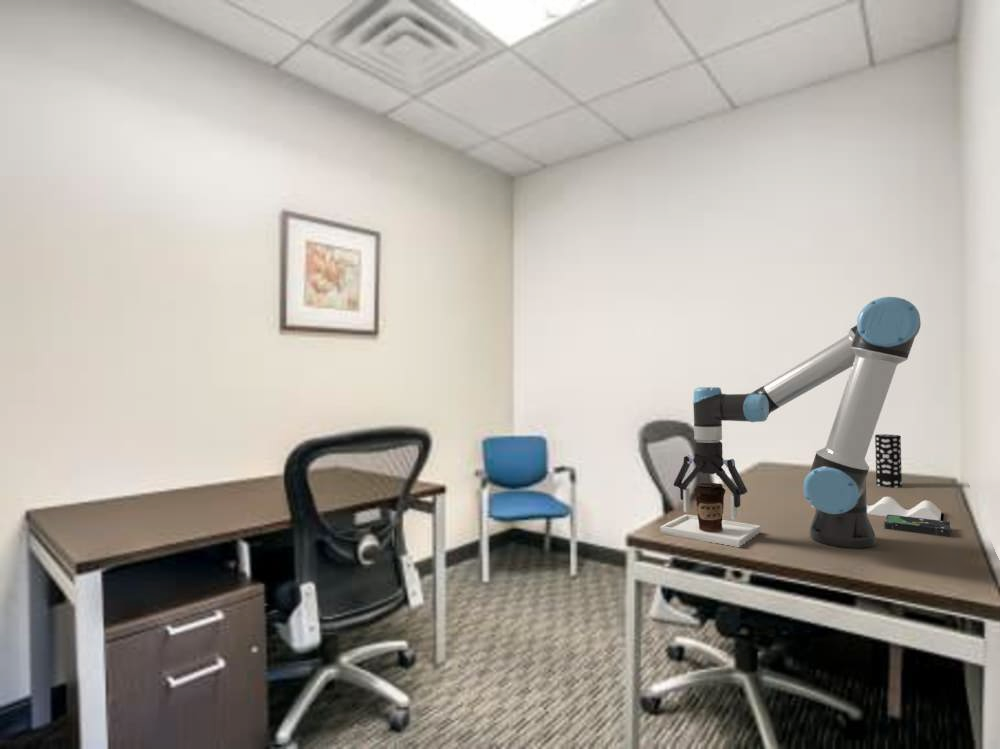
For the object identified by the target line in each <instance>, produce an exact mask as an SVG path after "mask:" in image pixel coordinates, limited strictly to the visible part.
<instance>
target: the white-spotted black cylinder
mask: <svg viewBox="0 0 1000 749" xmlns="http://www.w3.org/2000/svg"><path fill="white" fill-rule="evenodd" d="M874 435H875V436H874V444H875V445H874V450H875V481H876V483H875V485H877V486H878V487H882V488H883V487H884V488H891V489H892V488H894V489H896V488H902V487H903V485H902V484H903V478H902V476H903V475H902V474H903V473H902V444H901V442H902V438H901V435H900V434H898V435H897V434H888V433H887V434H883V433H881V434H874Z"/></svg>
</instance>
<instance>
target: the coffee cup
mask: <svg viewBox="0 0 1000 749" xmlns="http://www.w3.org/2000/svg"><path fill="white" fill-rule="evenodd" d="M694 492H695V502H696V511H697V516H698V521H699V529H700V530H703V531H710V532H718V531H723V529H722V520H723V514H724V509H725V508H724V505H725V504H724V503H725V502H724V501H725V495H726V489H725V488H724V487H723V484H722V483H716V482H704V483H703V482H702V483H697V484H696V487H695V488H694Z"/></svg>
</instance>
